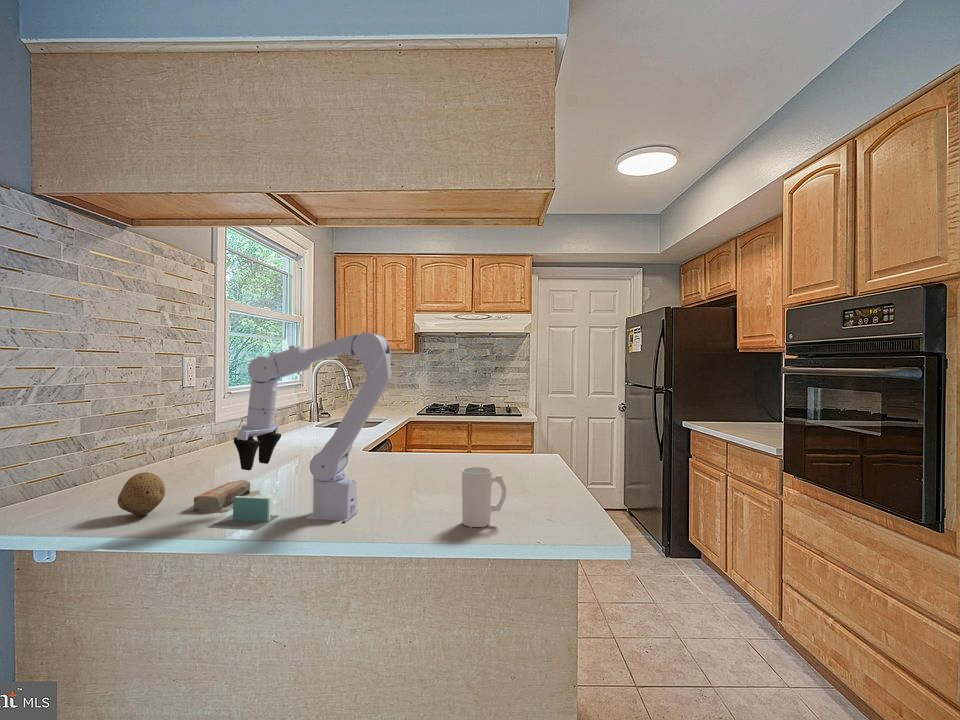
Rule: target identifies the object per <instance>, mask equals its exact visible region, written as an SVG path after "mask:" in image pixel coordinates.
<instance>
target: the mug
mask: <svg viewBox="0 0 960 720" xmlns="http://www.w3.org/2000/svg"><path fill="white" fill-rule="evenodd" d="M492 472H493V469H491V468H488V467H485V466H484V467H481V466H480V467H479V466H470V467H464V468H462V469H461V501H462V502H461V511H462V513H461V514H462V518H461V519H462V525H463V524H464V525H463V526H465V525H466V526H465V527H467V526H469V527H468V528H472V527H482V528H486V527H488V526H490V525H491V514H492V513H493V512H501V510H502V507H503V505H504V503H505V500H506V497H507V486H506V483H505V481H504V479H503V476H502V474H496V475H495V476H492V475H493V474H492ZM493 483H497V484H498V485H499V486H500V488H501V489H500V490H501V495H500V498H499V500H498V502H497V503H496V504H493V503H492V485H493ZM489 524H490V525H489ZM487 525H488V526H487ZM485 526H486V527H485Z"/></svg>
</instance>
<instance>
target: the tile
mask: <svg viewBox="0 0 960 720" xmlns="http://www.w3.org/2000/svg"><path fill="white" fill-rule="evenodd" d="M271 498H272V497H271V496H270V497H267V496H265V497H263V496H254V497H247V496H236V497H234V498H233V509H232V515H233V520H238V521H259V522H268V521H270V515H271V502H272V501H271Z"/></svg>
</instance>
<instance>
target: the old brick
mask: <svg viewBox="0 0 960 720" xmlns="http://www.w3.org/2000/svg"><path fill="white" fill-rule="evenodd" d="M260 493H261V490H251V482H250V481H248V480H245V479H240V480H239V479H238V480H233V481H228V482H226V483H223V484H222V485H218V486H216V487H213V488H212V489H210V490H207V491H205V492H203V493H201V494H199V495H196V496H195V497H193V507H191V508H188V509H187V510H185V511H184V512H185V513H186V512H187V513H227V512H230V511H231V510H233V498H234V497H236V496H247V497H257V496H260Z"/></svg>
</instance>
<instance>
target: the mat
mask: <svg viewBox="0 0 960 720" xmlns="http://www.w3.org/2000/svg"><path fill="white" fill-rule="evenodd" d="M279 517H280V515H277V514H276V515H275V514H270V521H268V522H259V521H238V520H233V514H231V515H229V516H227V517H225V518H223V519H221V520H219V521H218V522H217V521H216V522H215V523H214V524H213V523H212V524H211V525H210V526H207V528H209V529H223V530H224V529H226V530H227V529H229V530H247V531H248V530H249V531H257V530H259V529H261V528H263V527H264V526H265V525H267V524H269V523H270V522H272V521H274V520H275V519H277V518H279Z"/></svg>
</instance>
